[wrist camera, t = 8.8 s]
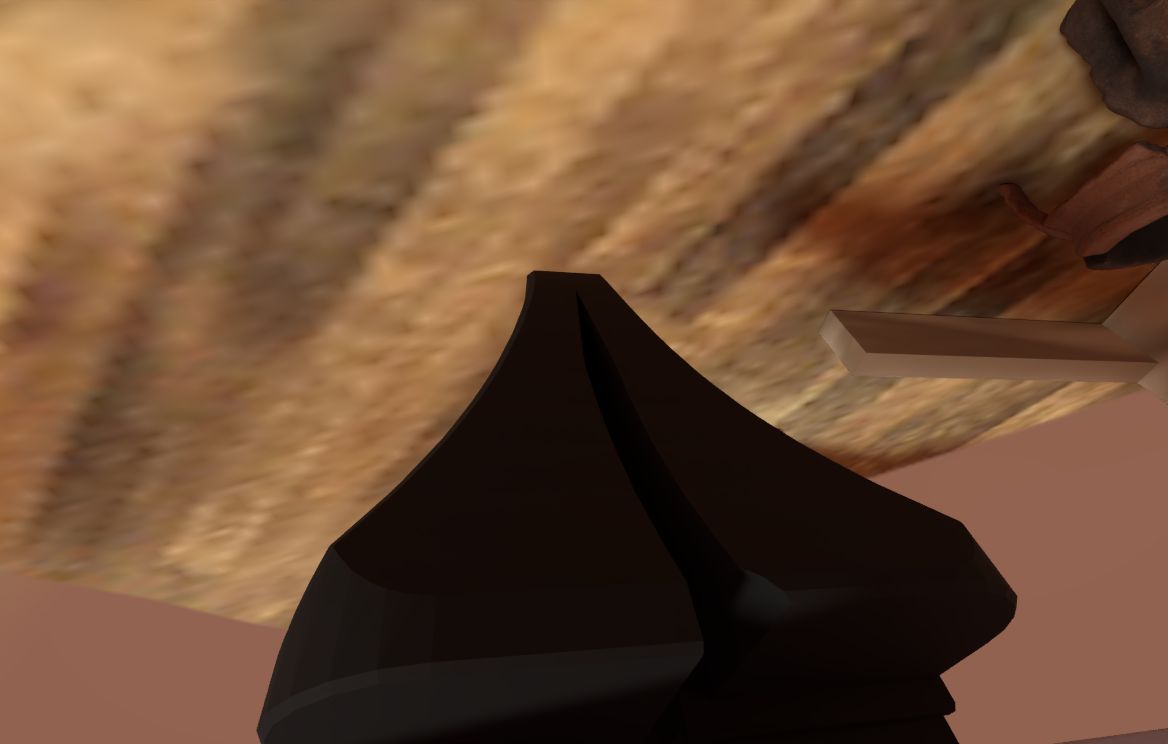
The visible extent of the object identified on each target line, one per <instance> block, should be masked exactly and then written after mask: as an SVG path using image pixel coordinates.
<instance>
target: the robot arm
mask: <svg viewBox="0 0 1168 744" xmlns="http://www.w3.org/2000/svg"><path fill="white" fill-rule="evenodd" d="M1016 605H1017V595H1016V594H1015V592H1014V591H1013V590H1012V588H1010V586H1009V584H1008V583H1007V582H1006V581H1005V579H1004V578H1003V576H1002V575H1001V574H1000V572H999V571H998V570H997V568H996V567H995V566H994V564H993V563H992V562H991V560H990V559H989V558H988V556H987V555H986V554H985V552H984V551H983V550H982V549H981V547H980V546H979V545H978V543H977V542H976V541H975V539H974V538H973V537H972V535H971V534H970V533H969V531H968V530H967V529H966V527H965V526H964V525H963V524H962V523H961V522H960V521H958V520H956V519H953V518H951V517H949V516H947V515H944V514H942V513H940V512H938V511H936V510H934V509H931V508H929V507H927V506H925V505H923V504H920V503H918V502H916V501H914V500H911V499H909V498H907V497H905V496H903V495H900V494H898V493H896V492H894V491H891V490H889V489H887V488H885V487H882V486H880V485H878V484H876V483H874V482H872V481H870V480H868V479H866V478H864V477H862V476H860V475H858V474H857V473H855V472H853V471H851V470H849V469H847V468H845V467H843V466H841V465H839V464H837V463H836V462H834V461H832V460H830V459H828V458H826V457H824V456H822V455H821V454H819V453H817V452H815V451H814V450H812V449H810V448H808V447H807V446H805V445H803V444H801V443H800V442H798V441H796V440H794V439H793V438H791V437H790V436H788V435H786V434H785V433H783V432H782V431H780V430H778V429H777V428H775V427H774V426H772V425H770V424H769V423H767V422H766V421H764V420H762V419H761V418H759V417H758V416H756V415H755V414H753V413H752V412H750V411H749V410H747V409H746V408H745V407H743V406H742V405H740V404H739V403H737V402H736V401H735V400H733V399H732V398H731V397H729V396H728V395H727V394H725V393H724V392H723V391H721V390H720V389H719V388H717V387H716V386H715V385H713V384H712V383H711V382H709V381H708V380H707V379H706V378H704V377H703V376H702V375H701V374H700V373H698V372H697V371H696V370H695V369H694V368H692V367H691V366H690V365H689V364H688V363H687V362H686V361H685V360H683V359H682V358H681V357H680V356H679V355H678V354H677V353H676V352H674V351H673V350H672V349H671V348H670V347H669V346H668V345H667V344H666V343H665V342H664V341H663V340H662V339H661V338H660V337H658V336H657V335H656V334H655V333H654V332H653V331H652V330H651V329H650V328H649V326H648V325H647V324H646V323H645V322H644V321H643V320H642V319H641V318H640V317H639V316H638V315H637V314H636V313H635V312H634V311H633V310H632V309H631V308H630V307H629V305H628V304H627V303H626V302H625V301H624V300H623V299H622V298H621V297H620V296H619V295H618V293H617V292H616V291H615V290H614V289H613V288H612V287H611V286H610V285H609V284H608V282H607V281H606V280H605V279H604V278H603V277H602V276H601V275H600V274H585V273H568V272H551V271H533V272H531V273H530V274H529V275H527V283H526V295H525V301H524V305H523V308H522V311H521V313H520V316H519V318H518V321H517V323H516V326H515V328H514V331H513V333H512V335H511V337H510V339H509V341H508V343H507V345H506V347H505V349H504V351H503V353H502V355H501V356H500V358H499V360H498V362H497V364H496V366H495V367H494V369H493V371H492V372H491V374H490V375H489V377H488V379H487V380H486V382H485V383H484V385H483V386H482V388H481V389H480V391H479V392H478V394H477V395H476V396H475V398H474V399H473V401H472V402H471V403H470V405H469V406H468V407H467V409H466V410H465V411H464V412H463V414H462V415H461V416H460V418H459V419H458V420H457V421H456V423H455V424H454V425H453V427H452V428H451V429H450V430H449V431H448V432H447V434H446V435H445V436H444V437H443V438H442V439H441V441H440V442H439V443H438V444H437V445H436V446H435V447H434V448H433V449H432V450H431V451H430V452H429V453H428V454H427V456H426V457H425V458H424V459H423V460H422V461H421V462H420V463H419V464H418V465H417V466H416V467H415V468H414V469H413V470H412V471H411V472H410V473H409V474H408V475H407V477H406V478H405V479H404V480H403V481H402V482H401V483H400V484H399V485H398V486H396V487H395V488H394V489H393V490H392V491H391V492H390V493H389V494H388V495H387V496H386V497H385V498H384V499H382V500H381V501H380V502H379V503H378V504H377V505H376V506H374V507H373V508H372V509H371V510H370V511H369V512H368V513H367V514H365V515H364V516H363V517H362V518H361V519H360V520H359V521H358V522H356V523H355V524H354V525H353V526H352V527H351V528H350V529H348V530H347V531H346V532H345V533H344V534H343V535H342V536H341V537H339V538H338V539H337V540H336V541H335V542H334V543H332V544H331V545H330V546H329V548H328V550H327V551H326V553H325V555H324V557H323V558H322V560H321V562H320V564H319V566H318V568H317V570H316V571H315V573H314V575H313V577H312V579H311V581H310V583H309V584H308V586H307V589H306V591H305V593H304V595H303V597H302V599H301V601H300V603H299V605H298V607H297V609H296V612H295V614H294V616H293V619H292V621H291V624H290V626H289V629H288V631H287V633H286V636H285V638H284V641H283V643H282V646H281V648H280V651H279V654H278V657H277V660H276V664H275V667H274V671H273V674H272V678H271V681H270V685H269V689H268V692H267V695H266V699H265V702H264V706H263V709H262V713H261V716H260V720H259V723H258V727H257V733H258V736H259V739H260V742H261V744H959V743H958V741H957V739H956V737H955V735H954V734H953V732H952V730H951V728H950V726H949V725H948V723H947V721H946V719H945V718H944V716H943V715H949V714H951V713H953V712H955V701H954V700H953V698H952V696H951V695H950V693H949V691H948V689H947V688H946V686H945V684H944V682H943V681H942V679H941V677H940V676H939V675H941V674H942V673H944V672H945V671H946V670H948V669H949V668H951V667H952V666H954V665H955V664H957V663H958V662H960V661H961V660H963V659H964V658H966V657H967V656H969V655H970V654H972V653H973V652H975V651H976V650H978V649H979V648H981V647H982V646H984V645H985V644H987V643H988V642H989V641H991V640H992V639H993V638H994V637H996V636H997V635H998V634H999V633H1001V632H1002V631H1003V630H1005V628H1006V627H1007V626H1008V624H1009V623H1010V622H1011V620H1012V619H1013V618H1014V615H1015V611H1016ZM1055 744H1168V728H1166V729H1158V730H1150V731H1143V732H1136V733H1129V734H1121V735H1114V736H1106V737H1099V738H1092V739H1084V740H1077V741H1070V742H1062V743H1055Z"/></svg>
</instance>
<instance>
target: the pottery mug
mask: <svg viewBox="0 0 1168 744" xmlns="http://www.w3.org/2000/svg"><path fill="white" fill-rule="evenodd" d="M1060 32H1061V33H1063V34H1065V35H1067V42H1068V44H1069V45H1070V46H1071V47H1072V48H1073V49H1074V50H1075V51H1077V52H1078V53H1080V54H1081V56H1082V57H1083V59H1084V60H1085V61H1087V62H1088V63H1089V64H1090V66H1091V71H1090V76H1091V78H1092V80H1093V82H1094V84H1095V85H1096V86H1097V87H1098V88H1099V90H1100V91H1101V93H1102V99H1103V102H1104V103H1105V105H1106V106H1107V108H1108V109H1109V110H1111V111H1112V112H1114V113H1116V114H1119V115H1121V116H1124V117H1126V118H1129V119H1131V120H1132V121H1134V122H1135V123H1137V124H1138V125H1140V126H1144V127H1149V128H1154V129H1160V128H1166V127H1168V0H1076V1H1075V3H1074V4H1073V5H1072V7H1071V8H1070V9H1069V11H1068V12H1067V14H1066V16H1065V18H1064V20H1063V22H1062V23H1061V26H1060ZM998 192H999V194H1000V195H1001V196H1002V197H1004V198H1005V203H1006V204H1007V206H1008V207H1009V208H1010V209H1012V210H1013V211H1015V212H1016V214H1017V216H1018V217H1019V219H1020V220H1021V221H1023V222H1024V223H1026V224H1029V225H1031V226H1033V227H1035V228H1036V229H1038V230H1040V231H1042V232H1044V233H1046V234H1048V235H1051V236H1053V237H1055V238H1059V239H1064V240H1068V241H1071V242H1074V243H1075V246H1076V254H1077V255H1078V256H1080V257H1083V258H1084V260H1085V264H1086V267H1087V268H1088V269H1092V270H1111V269H1122V268H1128V267H1133V266H1140V265H1145V264H1150V263H1155V262H1159V261H1164V260H1168V145H1167V146H1165V147H1159V146H1158V145H1156V144H1150V143H1149V142H1145V141H1141V142H1137V143H1134V144H1133V145H1132V146H1130V147H1129V148H1128V149H1127V150H1125V151H1124V152H1123V153H1122V154H1121V155H1120V156H1119V157H1118V158H1116V159H1115V160H1114V161H1113V162H1112V163H1111V164H1110V165H1109V166H1107V167H1106V168H1105V169H1103V170H1102V171H1100V172H1098V173H1096V174H1094V175H1093V176H1092V177H1090V178H1089V179H1088V180H1087V181H1086V182H1085V183H1084V184H1083V185H1082V186H1081V187H1080V189H1079V190H1078V191H1077V193H1076V194H1075V195H1074V196H1073V197H1072V198H1071V199H1069V200H1067V201H1065V202H1063V203H1061V204H1060V205H1059V206H1057V207H1056V208H1055V209H1054V210H1053V211H1052V212H1051V213H1050V214H1049V215H1048V214H1045V213H1043V212H1041V211H1039V210H1038V209H1037V208H1036V207H1035V206H1034V205H1033V204H1032V203H1031V202H1030V201H1029V199H1028V198H1027V196H1026V195H1025V194H1024V192H1023V191H1022V190H1021V189H1020V188H1019V186H1017V185H1014V184H1002V185H1000V186H999V187H998Z"/></svg>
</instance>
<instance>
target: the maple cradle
mask: <svg viewBox="0 0 1168 744" xmlns="http://www.w3.org/2000/svg"><path fill="white" fill-rule="evenodd" d="M819 333H820V334H821V336H822V337H823V338H824V340H825V341H826V342H827V343H828V345H829V346H830V347H831V349H832V350H833V351H834V353H835V354H836V355H837V356H838V358H839V359H840V360H841V362H842V363H843V364H844V365H845V367H846V368H847V369H848V371H849V372H850V373H851V375H852V376H883V377H923V378H964V379H1005V380H1045V381H1086V382H1126V383H1139V384H1140V385H1141V386H1143V387H1144V388H1145V389H1147V390H1148V391H1149V392H1151V393H1152V394H1154V395H1155V396H1156V397H1158V398H1159V399H1160V400H1162V401H1163V402H1165V403H1166V404H1167V405H1168V260H1164V261H1161V262H1160V263H1159V264H1158V265H1157V266H1156V268H1155V269H1154V270H1153V271H1152V272H1151V273H1150V274H1149V275H1148V276H1147V277H1146V278H1145V279H1144V280H1143V281H1142V282H1141V283H1140V284H1139V285H1138V286H1137V288H1136V289H1135V290H1134V291H1133V292H1132V293H1131V294H1130V295H1129V296H1128V297H1127V298H1126V299H1125V300H1124V301H1123V302H1122V303H1121V304H1120V305H1119V306H1118V308H1117V309H1116V310H1115V311H1114V312H1113V313H1112V314H1111V315H1110V316H1109V317H1108V318H1107V319H1106V320H1105V321H1104V322H1103V323H1102V324H1093V323H1073V322H1053V321H1034V320H1014V319H994V318H975V317H955V316H936V315H916V314H896V313H877V312H857V311H837V310H830V312H829V314H828V316H827V318H826V319H825V321H824V323H823V325H822V327H821V329H820V331H819Z"/></svg>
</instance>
